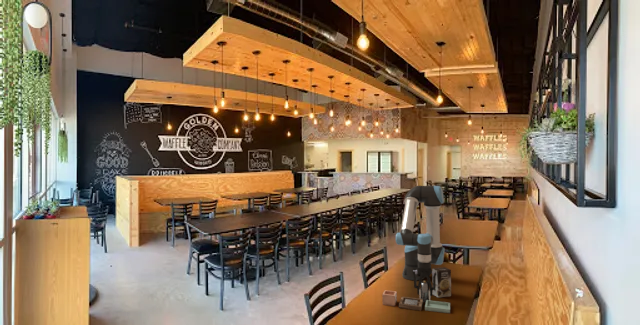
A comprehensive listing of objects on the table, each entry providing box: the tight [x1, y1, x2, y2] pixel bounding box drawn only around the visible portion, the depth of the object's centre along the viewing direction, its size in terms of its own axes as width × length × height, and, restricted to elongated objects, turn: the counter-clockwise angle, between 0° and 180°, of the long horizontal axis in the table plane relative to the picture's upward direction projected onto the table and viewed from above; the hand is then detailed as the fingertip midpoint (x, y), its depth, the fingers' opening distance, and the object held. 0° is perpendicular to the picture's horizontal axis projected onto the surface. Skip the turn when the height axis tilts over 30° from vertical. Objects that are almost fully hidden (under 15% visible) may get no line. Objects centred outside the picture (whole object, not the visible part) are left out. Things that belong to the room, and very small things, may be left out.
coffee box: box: [432, 266, 452, 298], centre depth 226 cm, size 9×6×16 cm
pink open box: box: [381, 289, 398, 307], centre depth 215 cm, size 7×7×6 cm
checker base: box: [398, 296, 424, 311], centre depth 212 cm, size 12×12×2 cm
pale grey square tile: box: [404, 299, 418, 305], centre depth 212 cm, size 7×7×1 cm
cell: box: [420, 279, 430, 303], centre depth 217 cm, size 5×5×12 cm
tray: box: [424, 299, 451, 314], centre depth 207 cm, size 10×13×2 cm
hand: (424, 300), depth 217 cm, fingers closed on cell, 4 cm apart
